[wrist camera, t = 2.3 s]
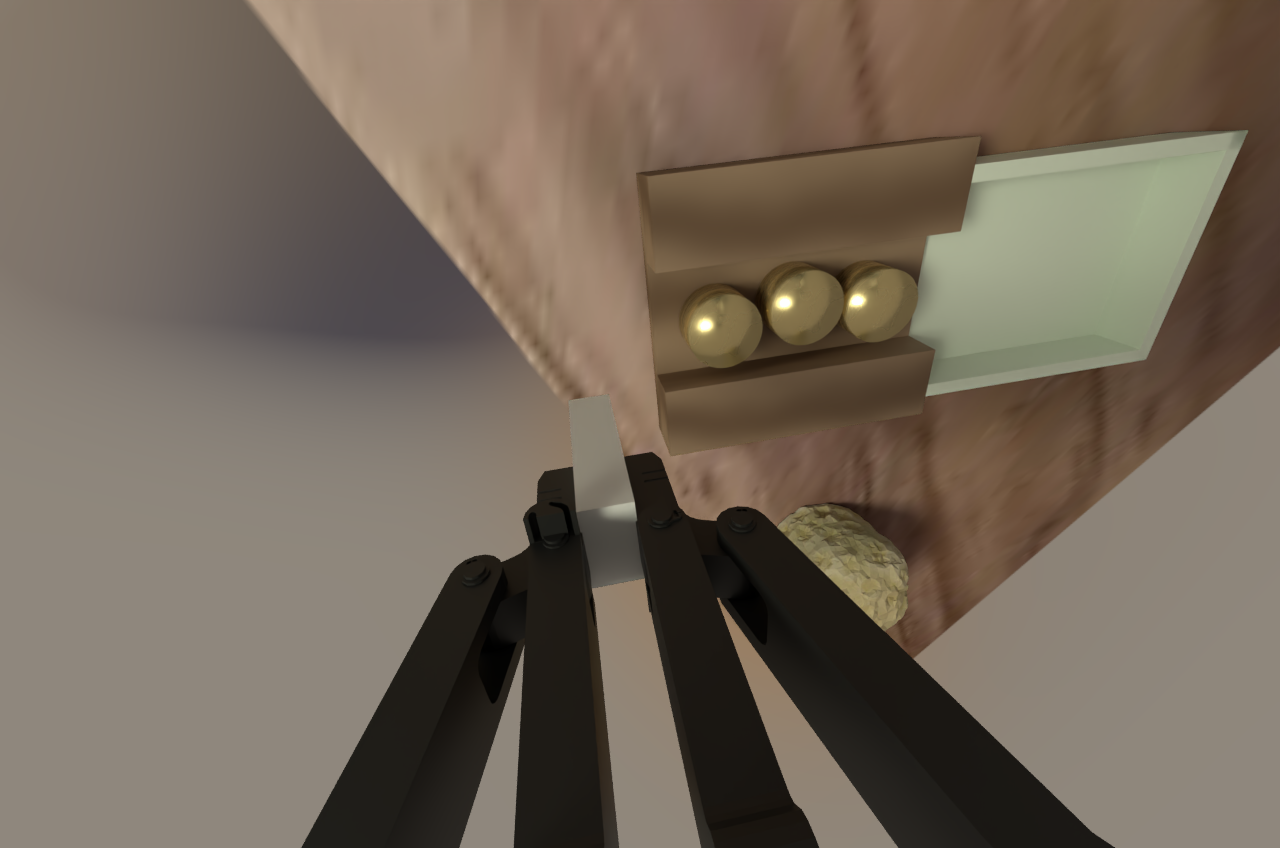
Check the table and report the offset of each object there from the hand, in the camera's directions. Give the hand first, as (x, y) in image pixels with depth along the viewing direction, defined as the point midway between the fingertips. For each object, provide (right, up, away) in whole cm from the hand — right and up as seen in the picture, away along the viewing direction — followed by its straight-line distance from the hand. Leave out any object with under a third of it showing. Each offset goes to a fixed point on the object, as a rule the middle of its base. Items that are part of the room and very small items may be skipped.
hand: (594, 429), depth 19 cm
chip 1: (+6, +6, +10) cm, 13 cm away
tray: (+25, +10, +12) cm, 30 cm away
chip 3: (+15, +8, +10) cm, 19 cm away
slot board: (+10, +8, +11) cm, 17 cm away
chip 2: (+10, +7, +10) cm, 16 cm away
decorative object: (+16, -10, +22) cm, 29 cm away
